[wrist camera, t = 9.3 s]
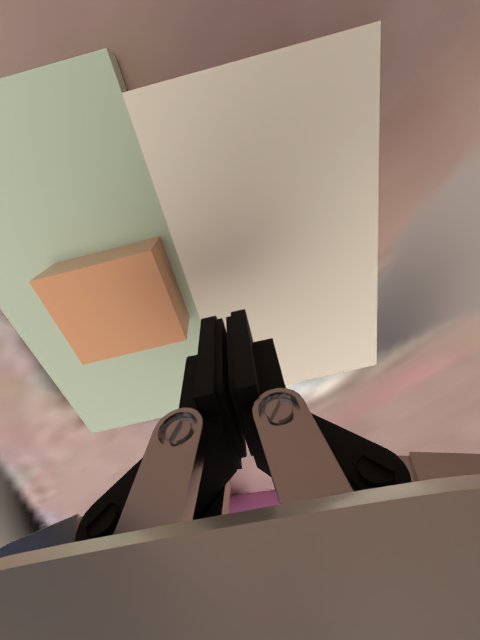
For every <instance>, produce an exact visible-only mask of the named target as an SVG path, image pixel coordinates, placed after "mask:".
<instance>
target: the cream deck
mask: <svg viewBox="0 0 480 640" xmlns="http://www.w3.org/2000/svg"><path fill="white" fill-rule="evenodd" d="M380 41H381V21H378V22H374V23H370V24H367V25H363V26H360V27H356V28H352V29H349V30H345V31H342V32H338V33H334V34H331V35H327V36H324V37H320V38H317V39H313V40H309V41H306V42H302V43H299V44H295V45H291V46H288V47H284V48H281V49H277V50H274V51H270V52H266V53H263V54H259V55H256V56H252V57H248V58H245V59H241V60H238V61H234V62H231V63H227V64H223V65H220V66H216V67H213V68H209V69H205V70H202V71H198V72H195V73H191V74H188V75H184V76H180V77H177V78H173V79H170V80H166V81H162V82H159V83H155V84H152V85H148V86H145V87H141V88H137V89H134V90H130V91H127V92H123V93H122V95H123V98H124V101H125V104H126V107H127V109H128V112H129V115H130V118H131V121H132V124H133V127H134V130H135V133H136V135H137V138H138V141H139V144H140V147H141V150H142V153H143V156H144V159H145V161H146V164H147V167H148V170H149V173H150V176H151V179H152V182H153V185H154V187H155V190H156V193H157V196H158V199H159V202H160V205H161V208H162V211H163V213H164V216H165V219H166V222H167V225H168V228H169V231H170V234H171V237H172V239H173V242H174V245H175V248H176V251H177V254H178V257H179V260H180V263H181V265H182V268H183V271H184V274H185V277H186V280H187V283H188V286H189V289H190V291H191V294H192V297H193V300H194V303H195V306H196V309H197V312H198V315H199V317H200V320H201V319H203V318H207V317H212V316H216V317H217V319H220V318H222V319H223V322H224V325H225V328H226V317H229V316H231V312H234V311H238V310H242V309H245V310H246V314H247V318H248V322H249V326H250V330H251V334H252V338H253V342H256V341H261V340H266V339H270V338H273V342H274V346H275V349H276V353H277V357H278V361H279V364H280V368H281V372H282V376H283V379H284V383H285V385H288V384H292V383H297V382H301V381H306V380H310V379H315V378H319V377H323V376H328V375H332V374H337V373H341V372H346V371H350V370H355V369H359V368H364V367H368V366H372V365H376V354H377V349H376V348H377V276H378V198H379V120H380ZM226 332H227V330H226Z"/></svg>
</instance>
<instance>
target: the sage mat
mask: <svg viewBox="0 0 480 640" xmlns="http://www.w3.org/2000/svg"><path fill="white" fill-rule="evenodd" d="M123 92H127V89H126V86H125V83H124V80H123V77H122V74H121V72H120V69H119V66H118V63H117V60H116V57H115V56H114V55H113V54H112V53H111V52H110V51H109V50H108V49H107V48H104V49H101V50H97V51H94V52H90V53H87V54H83V55H80V56H76V57H73V58H69V59H66V60H62V61H59V62H55V63H52V64H49V65H45V66H42V67H38V68H35V69H31V70H28V71H24V72H21V73H17V74H14V75H10V76H7V77H3V78H0V309H1V310H2V312H3V313H4V314H5V316H6V317H7V318H8V320H9V321H10V323H11V324H12V325H13V327H14V328H15V329H16V331H17V332H18V333H19V335H20V336H21V337H22V339H23V340H24V342H25V343H26V344H27V346H28V347H29V348H30V350H31V351H32V352H33V354H34V355H35V357H36V358H37V359H38V361H39V362H40V363H41V365H42V366H43V367H44V369H45V370H46V371H47V373H48V374H49V376H50V377H51V378H52V380H53V381H54V382H55V384H56V385H57V386H58V388H59V389H60V390H61V392H62V393H63V395H64V396H65V397H66V399H67V400H68V401H69V403H70V404H71V405H72V407H73V408H74V410H75V411H76V412H77V414H78V415H79V416H80V418H81V419H82V420H83V422H84V423H85V424H86V426H87V427H88V429H89V430H90V431H91V433H94V432H99V431H103V430H108V429H112V428H117V427H121V426H126V425H130V424H135V423H139V422H144V421H148V420H153V419H157V418H161V417H164V416H165V415H166V414H168V413H169V412H171V411H174V410H176V409H179V403H180V396H181V390H182V383H183V377H184V370H185V363H186V359H187V357H188V356H192V355H197V354H198V344H199V334H200V324H201V320H200V317H199V315H198V312H197V309H196V306H195V303H194V300H193V297H192V294H191V291H190V289H189V286H188V283H187V280H186V277H185V274H184V271H183V268H182V265H181V263H180V260H179V257H178V254H177V251H176V248H175V245H174V242H173V239H172V237H171V234H170V231H169V228H168V225H167V222H166V219H165V216H164V213H163V211H162V208H161V205H160V202H159V199H158V196H157V193H156V190H155V187H154V185H153V182H152V179H151V176H150V173H149V170H148V167H147V164H146V161H145V159H144V156H143V153H142V150H141V147H140V144H139V141H138V138H137V135H136V133H135V130H134V127H133V124H132V121H131V118H130V115H129V112H128V109H127V107H126V104H125V101H124V98H123V95H122V93H123ZM158 236H160V238H161V241H162V243H163V246H164V249H165V251H166V254H167V257H168V259H169V262H170V265H171V268H172V270H173V273H174V276H175V278H176V281H177V284H178V286H179V289H180V292H181V295H182V297H183V300H184V303H185V305H186V308H187V311H188V313H189V316H190V319H189V326H188V333H187V340H184V341H180V342H176V343H172V344H168V345H164V346H159V347H155V348H151V349H147V350H143V351H139V352H134V353H130V354H126V355H122V356H118V357H114V358H109V359H105V360H101V361H97V362H93V363H88V364H84V365H83V364H82V363H81V361H80V360H79V358H78V357H77V355H76V354H75V352H74V351H73V349H72V348H71V346H70V345H69V343H68V341H67V340H66V338H65V337H64V335H63V334H62V332H61V331H60V329H59V328H58V326H57V325H56V323H55V321H54V320H53V318H52V317H51V315H50V314H49V312H48V311H47V309H46V308H45V306H44V305H43V303H42V301H41V300H40V298H39V297H38V295H37V294H36V292H35V291H34V289H33V288H32V286H31V285H30V283H29V281H30V280H32V279H33V278H34V277H36V276H37V275H39V274H40V273H41V272H43V271H44V270H46V269H47V268H48V267H50V266H51V265H53V264H54V263H58V262H62V261H65V260H69V259H73V258H77V257H81V256H85V255H89V254H92V253H96V252H100V251H104V250H108V249H112V248H116V247H120V246H123V245H127V244H131V243H135V242H139V241H143V240H147V239H150V238H154V237H158Z"/></svg>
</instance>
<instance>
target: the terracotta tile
mask: <svg viewBox="0 0 480 640" xmlns="http://www.w3.org/2000/svg"><path fill="white" fill-rule="evenodd" d="M29 283H30V285H31V286H32V288H33V289H34V291H35V292H36V294H37V295H38V297H39V298H40V300H41V301H42V303H43V305H44V306H45V308H46V309H47V311H48V312H49V314H50V315H51V317H52V318H53V320H54V321H55V323H56V325H57V326H58V328H59V329H60V331H61V332H62V334H63V335H64V337H65V338H66V340H67V341H68V343H69V345H70V346H71V348H72V349H73V351H74V352H75V354H76V355H77V357H78V358H79V360H80V361H81V363H82V364H83V365H84V364H88V363H93V362H97V361H101V360H105V359H109V358H114V357H118V356H122V355H126V354H130V353H134V352H139V351H143V350H147V349H151V348H155V347H159V346H164V345H168V344H172V343H176V342H180V341H184V340H187V333H188V326H189V319H190V316H189V313H188V311H187V308H186V305H185V303H184V300H183V297H182V295H181V292H180V289H179V286H178V284H177V281H176V278H175V276H174V273H173V270H172V268H171V265H170V262H169V259H168V257H167V254H166V251H165V249H164V246H163V243H162V241H161V238H160V236H158V237H154V238H150V239H147V240H143V241H139V242H135V243H131V244H127V245H123V246H120V247H116V248H112V249H108V250H104V251H100V252H96V253H92V254H89V255H85V256H81V257H77V258H73V259H69V260H65V261H62V262H58V263H54V264H53V265H51V266H50V267H48V268H47V269H46V270H44V271H43V272H41V273H40V274H39V275H37V276H36V277H34V278H33V279H32V280H30V281H29Z"/></svg>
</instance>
